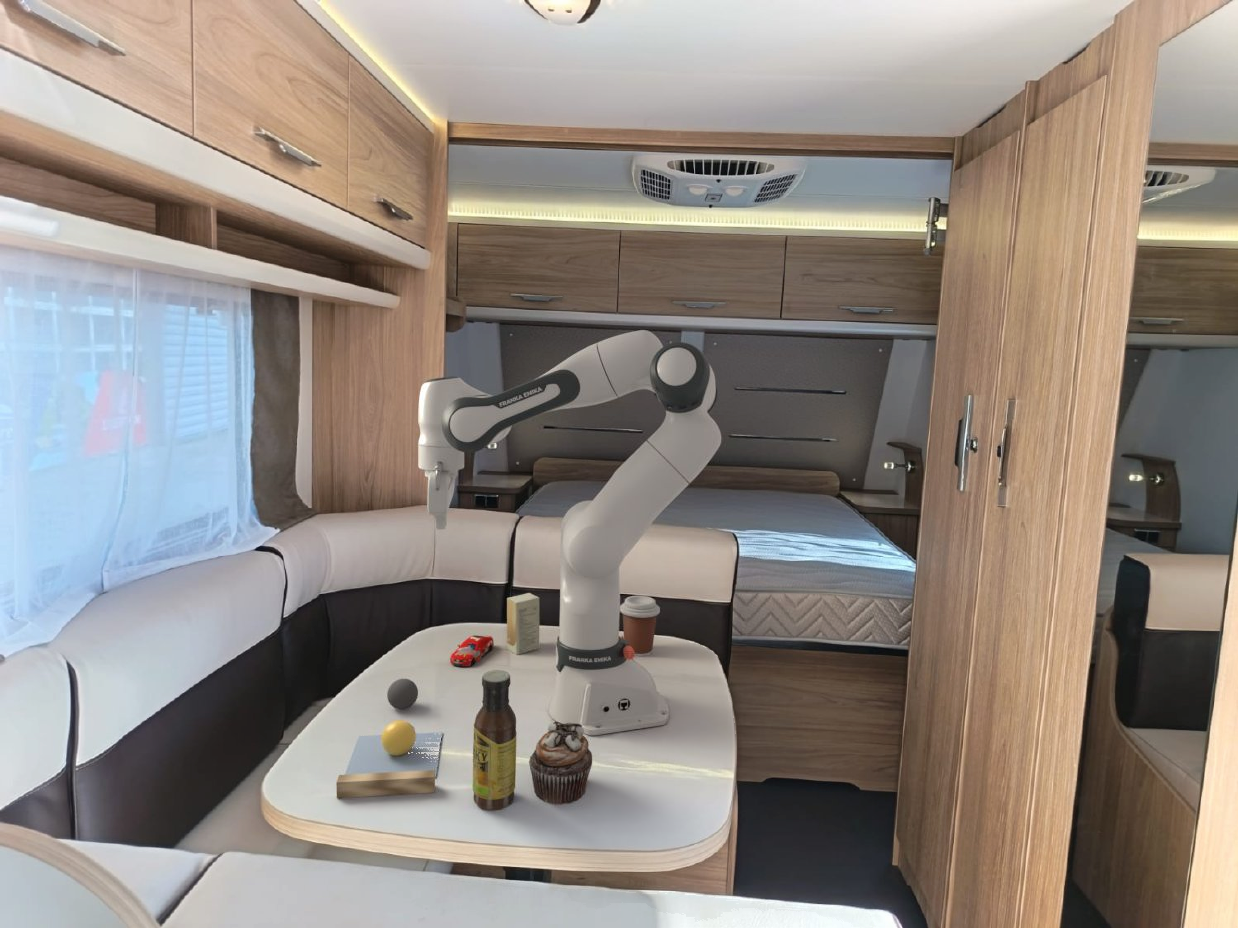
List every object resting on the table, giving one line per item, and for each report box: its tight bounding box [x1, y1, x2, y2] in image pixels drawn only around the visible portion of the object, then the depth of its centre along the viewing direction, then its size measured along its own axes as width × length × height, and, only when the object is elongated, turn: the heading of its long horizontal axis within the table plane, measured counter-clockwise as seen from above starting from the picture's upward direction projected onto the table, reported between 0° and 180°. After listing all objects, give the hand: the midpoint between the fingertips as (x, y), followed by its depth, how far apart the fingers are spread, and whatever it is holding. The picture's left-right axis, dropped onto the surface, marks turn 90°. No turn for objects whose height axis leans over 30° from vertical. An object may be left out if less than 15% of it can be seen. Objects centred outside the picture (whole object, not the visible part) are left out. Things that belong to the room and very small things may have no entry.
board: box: [344, 731, 444, 779], centre depth 123 cm, size 14×14×1 cm
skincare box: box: [506, 592, 540, 656], centre depth 168 cm, size 6×4×12 cm
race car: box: [449, 634, 495, 667], centre depth 164 cm, size 13×5×4 cm, turn 161°
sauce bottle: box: [472, 669, 517, 811], centre depth 110 cm, size 6×6×20 cm
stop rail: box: [336, 770, 436, 799], centre depth 113 cm, size 14×2×2 cm, turn 99°
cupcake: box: [528, 720, 593, 805], centre depth 115 cm, size 10×10×10 cm
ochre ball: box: [381, 719, 416, 756], centre depth 123 cm, size 6×6×6 cm
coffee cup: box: [620, 595, 661, 658], centre depth 170 cm, size 9×9×12 cm
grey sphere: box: [386, 678, 419, 710], centre depth 139 cm, size 6×6×6 cm
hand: (441, 527), depth 149 cm, fingers closed
